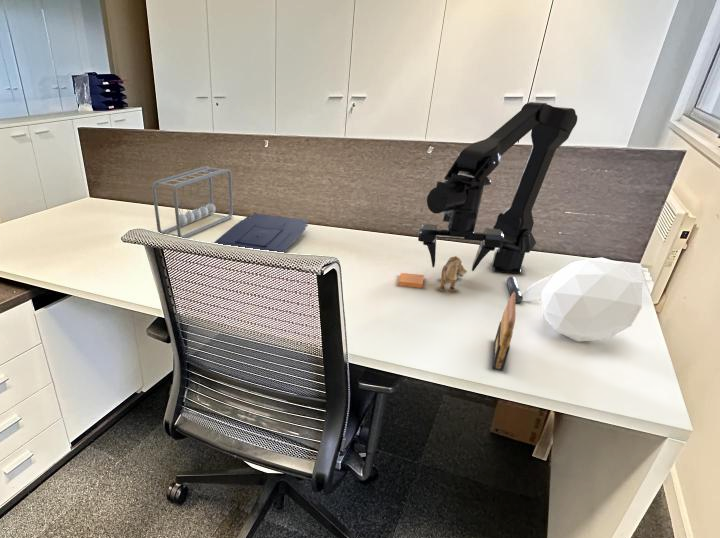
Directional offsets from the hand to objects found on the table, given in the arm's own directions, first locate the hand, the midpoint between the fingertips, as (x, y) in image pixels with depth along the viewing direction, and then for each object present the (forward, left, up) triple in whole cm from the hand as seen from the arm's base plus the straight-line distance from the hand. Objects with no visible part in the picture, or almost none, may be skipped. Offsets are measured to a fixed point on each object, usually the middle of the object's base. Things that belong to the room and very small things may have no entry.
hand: (452, 268), depth 123 cm
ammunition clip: (-10, +32, -5) cm, 34 cm away
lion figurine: (0, 0, -5) cm, 5 cm away
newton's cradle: (+85, -30, -5) cm, 90 cm away
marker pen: (-14, 0, -4) cm, 15 cm away
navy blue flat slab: (+57, -20, -5) cm, 61 cm away
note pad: (+9, 0, -5) cm, 11 cm away
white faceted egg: (-25, +13, -5) cm, 28 cm away
